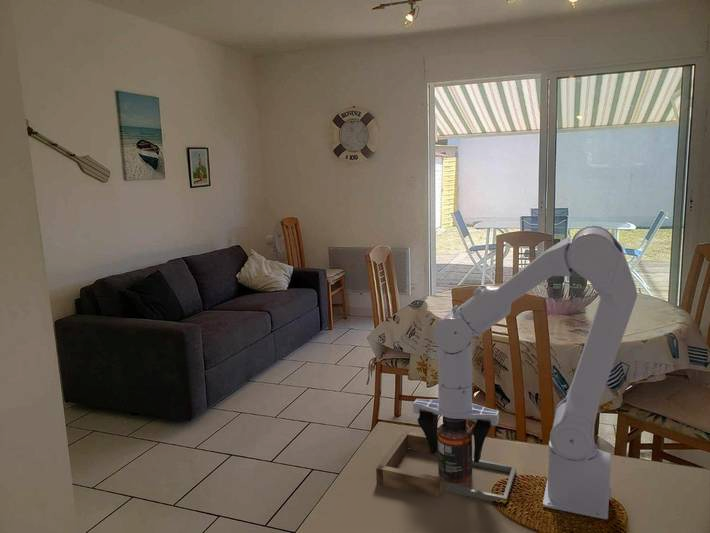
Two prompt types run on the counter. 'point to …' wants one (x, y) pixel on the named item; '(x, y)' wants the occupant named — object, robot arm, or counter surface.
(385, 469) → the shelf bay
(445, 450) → the supplement bottle
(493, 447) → the counter surface
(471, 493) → the slate bracket
